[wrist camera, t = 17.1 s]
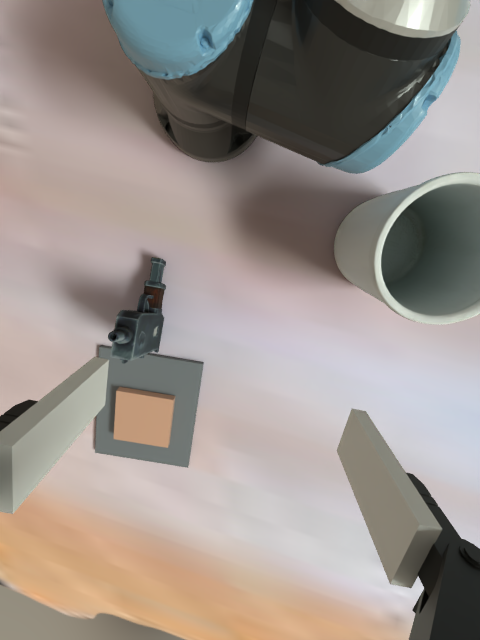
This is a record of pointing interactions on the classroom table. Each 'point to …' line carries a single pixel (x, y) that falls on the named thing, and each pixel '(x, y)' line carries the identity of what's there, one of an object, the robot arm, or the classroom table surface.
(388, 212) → the utensil holder
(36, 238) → the classroom table surface
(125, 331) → the gun
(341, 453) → the robot arm
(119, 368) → the mat
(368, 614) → the classroom table surface
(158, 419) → the tile
